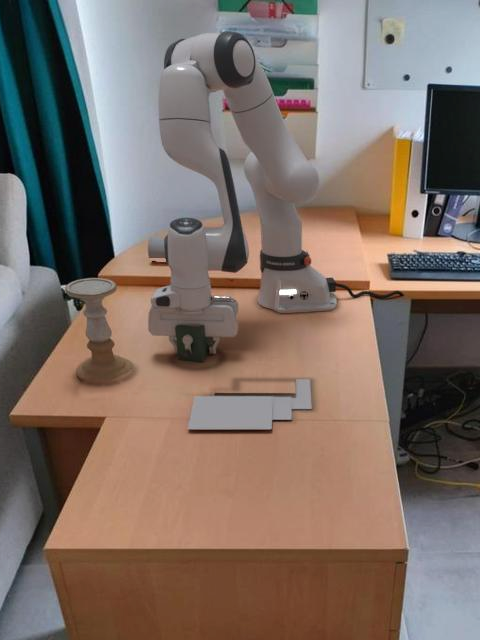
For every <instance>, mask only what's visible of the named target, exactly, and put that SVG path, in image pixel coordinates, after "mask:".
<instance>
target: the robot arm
mask: <svg viewBox="0 0 480 640" xmlns="http://www.w3.org/2000/svg"><path fill="white" fill-rule="evenodd" d="M219 91H223V94H224V97H225V100H226V104H227V107H228V108H229V110H230V113H231V116H232V118H233V120H234V123H235V126H236V128H237V130H238V132H239V135H240V137H241V138H242V141H243V143H244V144H245V145H246V146H247V148H248V149H249V150H250V153H249V154H248V155H247V157H246V158H245V161H244V165H243V172H244V177H245V178H246V180H247V182H248V184H249V186H250V188H251V190H252V193H253V197H254V200H255V204H256V208H257V213H258V217H259V224H260V242H261V243H260V244H261V249H260V250H259V269H260V273H261V274H260V283H259V284H260V285H259V291H258V296H257V298H256V301H257V303H258V305H260V306H261V307H264V308H266V309H270V310H273V311H275V312H276V313H279V314H291V313H293V314H295V313H311V312H326V311H332V310H334V309H335V308H336V307H337V304H338V302H337V301H338V300H337V296H336V294H335V293H336V292H337V288H341V289H344V290H346V291H347V293H348V294H349V296H350V297H352V298H353V299H356V298H359V297H361V296H363V295H369V296H371V297H372V296H373V297H374V298H378V299H388V298H390V297H393V296H395V295H399V296H400V297H405V294H404V293H403V292H402V291H400V290H393V291H391V292H389V293H387V294H379V293H375V292H373V291H369V290H363V291H362V290H361V291H360V292H358V293H356V294H355V293H354V292H353V291H352V289H351V287H349V286H348V285H345V284H343V283H338V282H336V280H335V279H334V277H325V275H323V274H322V273H321V272H320V271H318V270H317V269H316V268H314V267H313V266H312V265H311V264H312V258H311V257H310V254H309V252H308V250H306V251H305V250H303V222H302V219H301V216H300V215H299V213H298V211H297V209H296V206H295V205H296V204H297V205H302V204H303V205H304V204H307V203H310V202H311V201H312V200H314V198H315V197H316V196H317V193H318V192H319V188H320V183H321V182H320V175H319V172H318V170H317V169H316V167H314V166H313V164H311V162H310V161H309V159H307V157H306V156H305V154H304V153H303V151H302V150H301V148H300V146H299V145H298V143H297V141H296V140H295V138H294V136H293V135H292V133H291V131H290V129H289V128H288V126H287V124H286V122H285V120H284V116H283V115H282V112H281V110H280V107H279V104H278V101H277V98H276V97H275V94H274V91H273V89H272V86H271V83H270V81H269V79H268V77H267V74H266V72H265V70H264V68H263V67H262V64H261V63H260V61H259V59H258V58H257V56H256V54H255V52H254V49H253V46H252V45H251V43H250V41H248V39H247V38H246V37H245V35H243V34H242V33H239V32H236V31H231V30H230V31H229V30H224V31H222V32H205V33H201V34H198V35H195V36H191V37H189V38H181V39H178V40H175V41H174V42H172V43H171V44H170V45H169V46H168V47H167V48H166V51H165V54H164V58H163V71H162V72H161V74H160V80H159V90H158V126H159V135H160V141H161V146H162V148H163V150H164V152H165V153H166V155H167V156H168V157H169V158H170V159H171V160H172V161H173V162H175V163H176V164H178V165H180V166H182V167H184V168H186V169H189V170H191V171H192V172H195V173H198V174H200V175H202V176H204V177H205V178H207V179H209V180H210V181H211V182H212V183H213V184H214V186H215V188H216V190H217V194H218V195H217V196H218V201H219V204H220V209H221V214H222V219H223V224H222V225H220V226H204V223H203V221H201V220H200V219H197V218H195V217H194V218H193V217H179V218H176V219H172V221H170V222H169V224H168V229H167V234H166V235H165V236H164V238H165V239H164V248H165V259H166V262H167V263H166V264H167V265H168V266H169V269H170V280H169V285H166V286H162V287H158V288H156V289H155V290H154V291H153V292H152V295H151V297H150V303H151V306H150V308H149V311H148V318H147V319H148V321H147V324H148V332H149V334H150V335H151V336H153V337H157V336H158V337H168V340H169V342H170V343H171V345H172V346H173V347H174V353H175V354H178V351H177V341H176V332H175V327H176V326H177V325H181V324H201V325H204V326H205V336H206V337H213V340H214V341H215V342H214V343H213V344H210V345H209V355H216V354H217V346H218V344H219V343H220V340H221V338H235V337H236V336H237V334H238V332H239V324H238V317H237V315H238V313H239V302H238V300H236V299H235V298H233V297H232V296H230V295H226V296H222V295H212V285H211V284H212V283H211V278H210V275H209V271H211V272H212V271H213V272H214V271H215V272H217V271H219V272H224V273H232V274H236V273H238V272H239V271H241V270H242V269H243V268H244V267H245V266H246V265H247V264H248V260H249V258H250V257H249V255H250V250H249V249H250V248H249V243H248V239H247V236H246V233H245V231H244V228H243V224H242V220H241V214H240V208H239V207H240V206H239V202H238V198H237V192H236V188H235V182H234V178H233V173H232V169H231V164H230V161H229V158H228V155H227V153H226V151H225V150H224V149H223V148H221V147H219V145H218V144H217V142H216V140H215V138H214V135H213V130H212V118H211V108H210V100H209V99H210V95H211V93H216V92H219Z"/></svg>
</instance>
